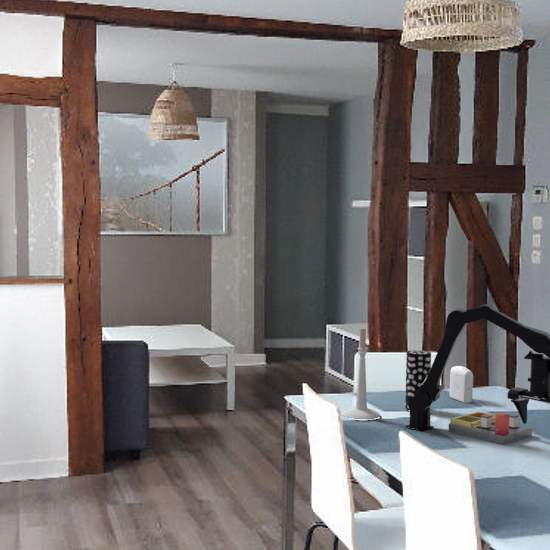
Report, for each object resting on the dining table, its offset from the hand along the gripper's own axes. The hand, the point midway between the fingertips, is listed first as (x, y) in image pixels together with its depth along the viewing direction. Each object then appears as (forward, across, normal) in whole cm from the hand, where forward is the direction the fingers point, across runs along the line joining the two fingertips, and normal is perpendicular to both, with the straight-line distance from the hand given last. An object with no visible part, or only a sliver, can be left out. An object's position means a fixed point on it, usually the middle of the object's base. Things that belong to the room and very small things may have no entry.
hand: (538, 426), depth 249 cm
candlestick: (+5, +54, +18) cm, 58 cm away
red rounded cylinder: (+2, +7, +9) cm, 11 cm away
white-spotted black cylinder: (+5, +49, -4) cm, 49 cm away
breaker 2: (+2, +9, 0) cm, 9 cm away
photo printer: (+5, +49, -29) cm, 57 cm away
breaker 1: (+2, +14, +7) cm, 15 cm away
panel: (+4, +14, +4) cm, 15 cm away
